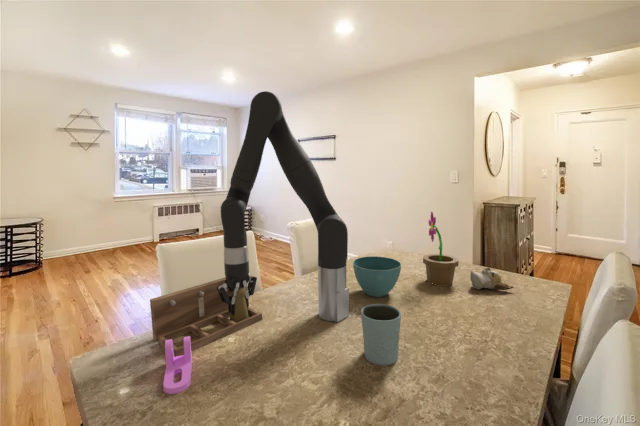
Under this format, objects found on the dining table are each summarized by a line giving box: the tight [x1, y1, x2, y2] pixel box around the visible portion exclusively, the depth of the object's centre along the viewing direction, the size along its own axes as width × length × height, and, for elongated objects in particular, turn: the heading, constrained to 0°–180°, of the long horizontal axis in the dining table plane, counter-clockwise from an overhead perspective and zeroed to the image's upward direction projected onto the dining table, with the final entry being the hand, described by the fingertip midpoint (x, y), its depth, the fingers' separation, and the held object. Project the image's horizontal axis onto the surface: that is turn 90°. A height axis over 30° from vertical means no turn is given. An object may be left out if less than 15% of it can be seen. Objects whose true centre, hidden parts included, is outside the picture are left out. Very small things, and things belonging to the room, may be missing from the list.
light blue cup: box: [360, 303, 402, 366], centre depth 83 cm, size 10×10×12 cm
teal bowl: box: [352, 255, 402, 298], centre depth 125 cm, size 18×18×12 cm
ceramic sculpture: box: [470, 267, 514, 291], centre depth 129 cm, size 11×9×15 cm
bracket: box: [162, 335, 193, 395], centre depth 76 cm, size 13×6×7 cm, turn 20°
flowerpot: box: [422, 211, 460, 286], centre depth 135 cm, size 14×14×30 cm
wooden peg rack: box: [149, 277, 263, 357], centre depth 98 cm, size 14×28×12 cm, turn 139°
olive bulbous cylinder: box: [229, 287, 250, 323], centre depth 103 cm, size 6×6×11 cm
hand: (239, 311), depth 104 cm, fingers closed on olive bulbous cylinder, 4 cm apart
